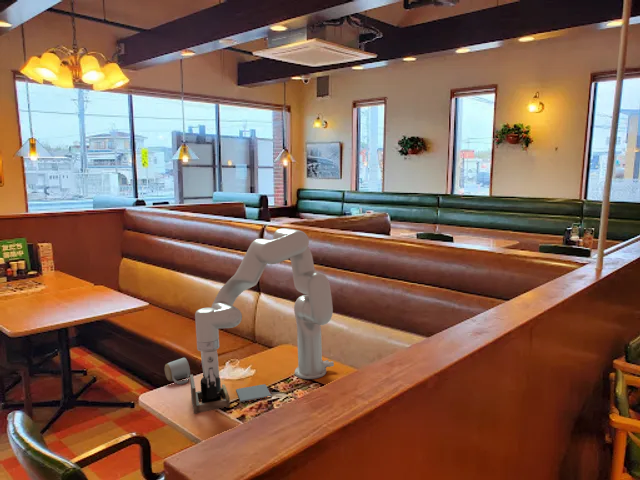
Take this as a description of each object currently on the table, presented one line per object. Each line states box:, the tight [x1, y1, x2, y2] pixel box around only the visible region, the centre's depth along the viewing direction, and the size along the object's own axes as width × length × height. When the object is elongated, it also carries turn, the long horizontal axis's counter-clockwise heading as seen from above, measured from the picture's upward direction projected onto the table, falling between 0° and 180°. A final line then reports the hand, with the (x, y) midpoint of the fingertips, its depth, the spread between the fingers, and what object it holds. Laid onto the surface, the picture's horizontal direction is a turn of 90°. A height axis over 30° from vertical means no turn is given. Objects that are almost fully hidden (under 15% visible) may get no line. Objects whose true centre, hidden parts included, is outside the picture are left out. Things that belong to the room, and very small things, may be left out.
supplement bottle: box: [200, 372, 222, 404], centre depth 165 cm, size 7×7×12 cm
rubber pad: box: [235, 383, 272, 403], centre depth 172 cm, size 11×10×1 cm
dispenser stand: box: [189, 373, 231, 415], centre depth 165 cm, size 12×12×9 cm
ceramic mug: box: [164, 357, 191, 385], centre depth 186 cm, size 11×8×8 cm
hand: (211, 392), depth 165 cm, fingers closed on supplement bottle, 6 cm apart
